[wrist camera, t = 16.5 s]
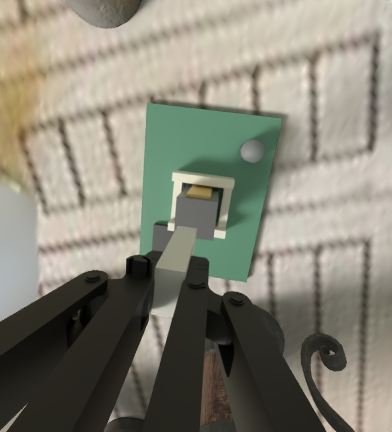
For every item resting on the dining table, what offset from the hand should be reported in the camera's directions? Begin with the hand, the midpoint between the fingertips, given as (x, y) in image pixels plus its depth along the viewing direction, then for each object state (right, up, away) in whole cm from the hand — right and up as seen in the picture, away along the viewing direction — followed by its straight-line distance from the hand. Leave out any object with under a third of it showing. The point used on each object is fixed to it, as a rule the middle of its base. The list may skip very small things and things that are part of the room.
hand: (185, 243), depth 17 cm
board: (+2, +4, +13) cm, 14 cm away
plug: (+2, +4, +12) cm, 13 cm away
